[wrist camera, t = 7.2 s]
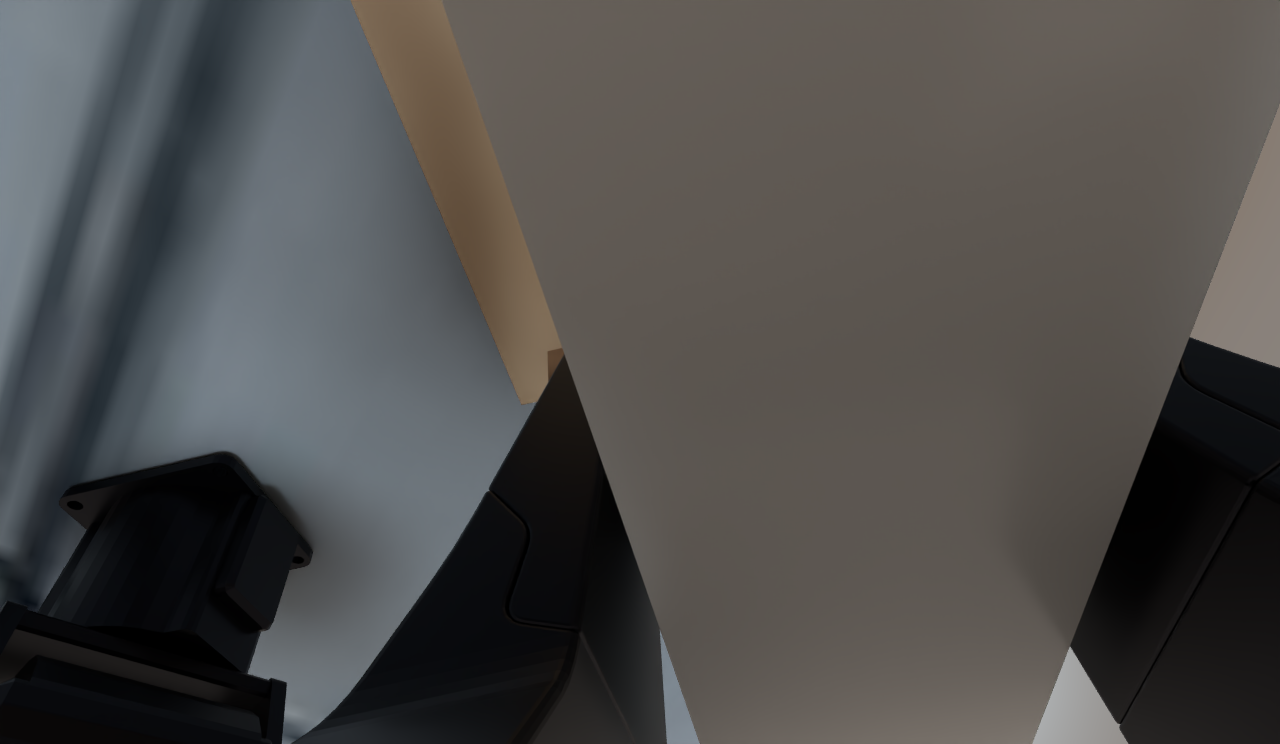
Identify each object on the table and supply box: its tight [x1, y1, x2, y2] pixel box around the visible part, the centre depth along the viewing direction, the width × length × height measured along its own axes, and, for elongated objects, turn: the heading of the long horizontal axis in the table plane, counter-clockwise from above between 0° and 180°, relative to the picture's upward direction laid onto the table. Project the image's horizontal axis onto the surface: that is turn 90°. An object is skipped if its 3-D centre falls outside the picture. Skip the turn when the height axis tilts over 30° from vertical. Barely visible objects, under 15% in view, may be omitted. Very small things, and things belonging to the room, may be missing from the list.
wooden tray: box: [351, 0, 564, 405], centre depth 17 cm, size 13×20×3 cm, turn 11°
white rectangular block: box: [442, 0, 1280, 744], centre depth 8 cm, size 4×14×6 cm, turn 11°
